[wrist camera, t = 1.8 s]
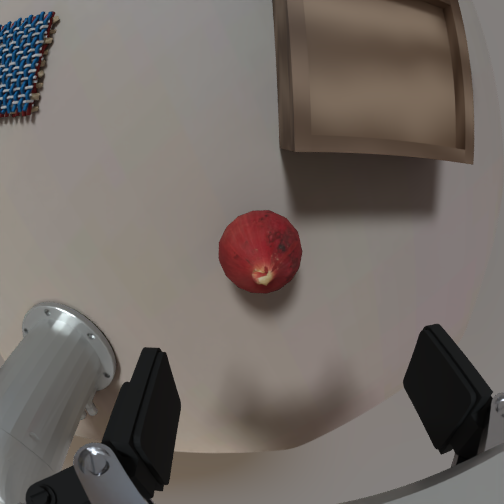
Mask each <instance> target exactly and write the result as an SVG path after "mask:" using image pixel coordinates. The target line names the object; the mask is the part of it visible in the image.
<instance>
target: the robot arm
mask: <svg viewBox="0 0 504 504" xmlns="http://www.w3.org/2000/svg"><path fill="white" fill-rule="evenodd" d="M22 332H23V340H22V341H21V342H20V343H19V345H18V346H17V347H16V348H15V350H14V351H13V352H12V353H11V355H10V356H9V357H8V359H7V360H6V361H5V363H4V364H3V365H2V367H1V368H0V504H155V503H154V502H153V501H152V499H151V498H152V497H153V496H154V490H157V491H163V487H164V485H168V484H169V479H170V473H171V466H172V459H173V453H174V447H175V440H176V434H177V428H178V422H179V416H180V411H181V402H180V398H179V395H178V392H177V388H176V385H175V382H174V378H173V375H172V372H171V368H170V365H169V361H168V357H167V354H166V352H162V351H161V349H160V348H146V347H144V348H143V350H142V352H141V355H140V357H139V360H138V362H137V365H136V368H135V370H134V373H133V376H132V378H131V381H130V382H125V383H124V384H123V385H122V387H121V390H120V392H119V395H118V397H117V400H116V403H115V406H114V408H113V411H112V414H111V416H110V419H109V422H108V425H107V428H106V431H105V433H104V436H103V439H102V442H101V443H89V444H86V445H84V446H83V447H81V448H80V449H79V450H78V451H77V452H76V454H75V456H74V461H73V464H74V465H73V466H71V467H69V468H67V469H65V470H63V471H61V468H62V466H63V463H64V460H65V457H66V455H67V452H68V449H69V446H70V444H71V442H72V439H73V436H74V434H75V431H76V429H77V426H78V424H79V422H80V420H82V419H84V418H85V417H86V414H87V413H86V411H85V409H86V410H87V412H88V414H89V415H91V416H93V415H96V414H97V412H98V410H97V408H96V407H95V405H94V403H93V402H92V400H93V398H94V395H95V393H96V391H100V390H102V389H104V388H106V387H107V386H108V385H109V384H110V383H111V381H112V380H113V377H114V375H115V372H116V360H115V355H114V353H113V350H112V348H111V346H110V344H109V342H108V341H107V339H106V338H105V336H104V335H103V334H102V332H101V331H100V330H99V329H98V328H97V327H96V326H95V325H94V324H93V323H92V322H91V321H90V320H88V319H87V318H86V317H85V316H84V315H82V314H80V313H79V312H77V311H76V310H74V309H72V308H70V307H68V306H65V305H63V304H59V303H55V302H43V303H39V304H37V305H35V306H33V307H32V308H31V309H30V310H29V311H28V312H27V314H26V315H25V317H24V320H23V324H22ZM403 385H404V388H405V390H406V392H407V394H408V396H409V398H410V399H411V401H412V403H413V405H414V407H415V409H416V411H417V413H418V415H419V417H420V419H421V421H422V423H423V425H424V427H425V429H426V431H427V433H428V435H429V437H430V439H431V441H432V443H433V445H434V447H435V448H436V449H438V450H439V452H440V454H444V453H446V452H448V451H451V450H452V449H454V451H455V455H454V459H453V462H452V465H451V468H449V469H447V470H445V471H443V472H440V473H438V474H435V475H433V476H430V477H428V478H425V479H423V480H420V481H417V482H414V483H411V484H409V485H406V486H403V487H400V488H397V489H393V490H390V491H387V492H384V493H380V494H377V495H373V496H369V497H366V498H361V499H358V500H353V501H349V502H344V503H339V504H504V393H499V394H497V395H495V396H494V398H492V397H491V394H492V393H493V391H492V390H491V389H490V387H489V386H488V385H487V383H486V382H485V381H484V379H483V378H482V377H481V375H480V374H479V373H478V371H477V370H476V369H475V368H474V366H473V365H472V363H471V362H470V361H469V360H468V358H467V357H466V356H465V355H464V353H463V352H462V351H461V350H460V348H459V347H458V346H457V345H456V343H455V342H454V341H453V340H452V339H451V337H450V336H449V335H448V334H447V333H446V331H445V330H444V329H443V328H442V327H441V325H439V324H434V325H428V326H425V327H424V328H423V330H422V331H421V332H420V334H419V337H418V340H417V343H416V346H415V349H414V352H413V355H412V358H411V361H410V363H409V366H408V369H407V372H406V374H405V377H404V380H403Z"/></svg>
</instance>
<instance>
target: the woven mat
mask: <svg viewBox="0 0 504 504" xmlns="http://www.w3.org/2000/svg"><path fill="white" fill-rule="evenodd" d="M44 14H45V12H41V14H40V15H36V16H35V17H33V15H30V16H29V18H25V20H24V21H23V23H22V24H21V20H22V18H19V19H18V21H15V22H14V23H13V24H12V26H11V23H12V22H11V21H10V22H8V24H6V25H4V26H2V25H0V117H4V114H5V117H9V114H12V117H15V116H19V114H20V113H22V116H26V115H30V114H31V112H36V111H38V108H39V106H34V104H33V103H34V102H35V100H39V93H37V90H36V89H38V88H42V85H43V83H40V82H39V83H37V81H38V80H37V78H41V77H42V76H43V75H44V73H43V70H41V71H39V69H40V67H44V66H45V61H46V60H43V59H44V58H42V57H43V55H47V53H48V50H45V49H46V47H47V46H48V44H49V43H51V42H52V38H49V35H50V34H53V33H56V30H50V29H51V25H52V24H54V23H55V22H57V21H58V20H59V17H58V16H56V17H54V15H55V12H49V13H48V14H47V15H46V16H45V18H44ZM32 18H33V19H32ZM10 26H11V29H10ZM1 27H2V30H1ZM25 43H26V44H25ZM10 45H11V46H10ZM41 46H42V47H41ZM40 47H41V48H40ZM18 51H19V52H18ZM8 53H9V54H8ZM31 58H33V59H31ZM30 68H31V69H30ZM29 69H30V70H29ZM17 72H18V73H17ZM7 73H8V74H7ZM32 79H33V80H32ZM21 81H23V82H21ZM31 91H32V93H31V94H30V92H31ZM19 93H20V94H19ZM18 94H19V95H18ZM7 96H8V97H7ZM22 103H23V105H22ZM26 112H27V114H26Z"/></svg>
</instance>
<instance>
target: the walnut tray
mask: <svg viewBox="0 0 504 504" xmlns="http://www.w3.org/2000/svg"><path fill="white" fill-rule="evenodd" d="M272 3H273V17H274V32H275V49H276V68H277V88H278V113H279V142H280V148H281V149H285V150H289V151H293V152H341V153H365V154H382V155H396V156H408V157H418V158H428V159H437V160H445V161H452V162H460V163H466V164H473V159H474V105H473V89H472V78H471V68H470V60H469V53H468V47H467V41H466V35H465V30H464V25H463V20H462V15H461V11H460V7H459V3H458V0H272Z"/></svg>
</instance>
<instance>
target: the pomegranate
mask: <svg viewBox="0 0 504 504" xmlns="http://www.w3.org/2000/svg"><path fill="white" fill-rule="evenodd" d="M301 256H302V248H301V244H300V239H299V235H298V231H297V230H296V229H295V228H294V227H293V225H292V224H291V223H290V222H289V221H288V219H287V218H285V217H283V216H281V215H279V214H276V213H274V212H272V211H269V210H264V211H251V212H249V213H246V214H243V215H241V216H238V217H237V218H236V219H235V220H234V221H233V222H232V223H230V224H229V225H228V226H227V228H226V229H225V231H224V233H223V235H222V237H221V240H220V242H219V261H220V264H221V266H222V268H223V270H224V272H225V275H226V276H227V277H228V278H229V279H230V280H231V281H232V282H233V283H234V284H235V285H237V286H238V287H239V288H241V289H244V290H246V291H249V292H251V293H269V292H273V291H276V290H279V289H280V288H282V287H283V286H284V285H286V284H287V283H289V282H290V281H291V280H292V278H293V277H294V275H295V274H296V272H297V271H298V269H299V266H300V261H301Z"/></svg>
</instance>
